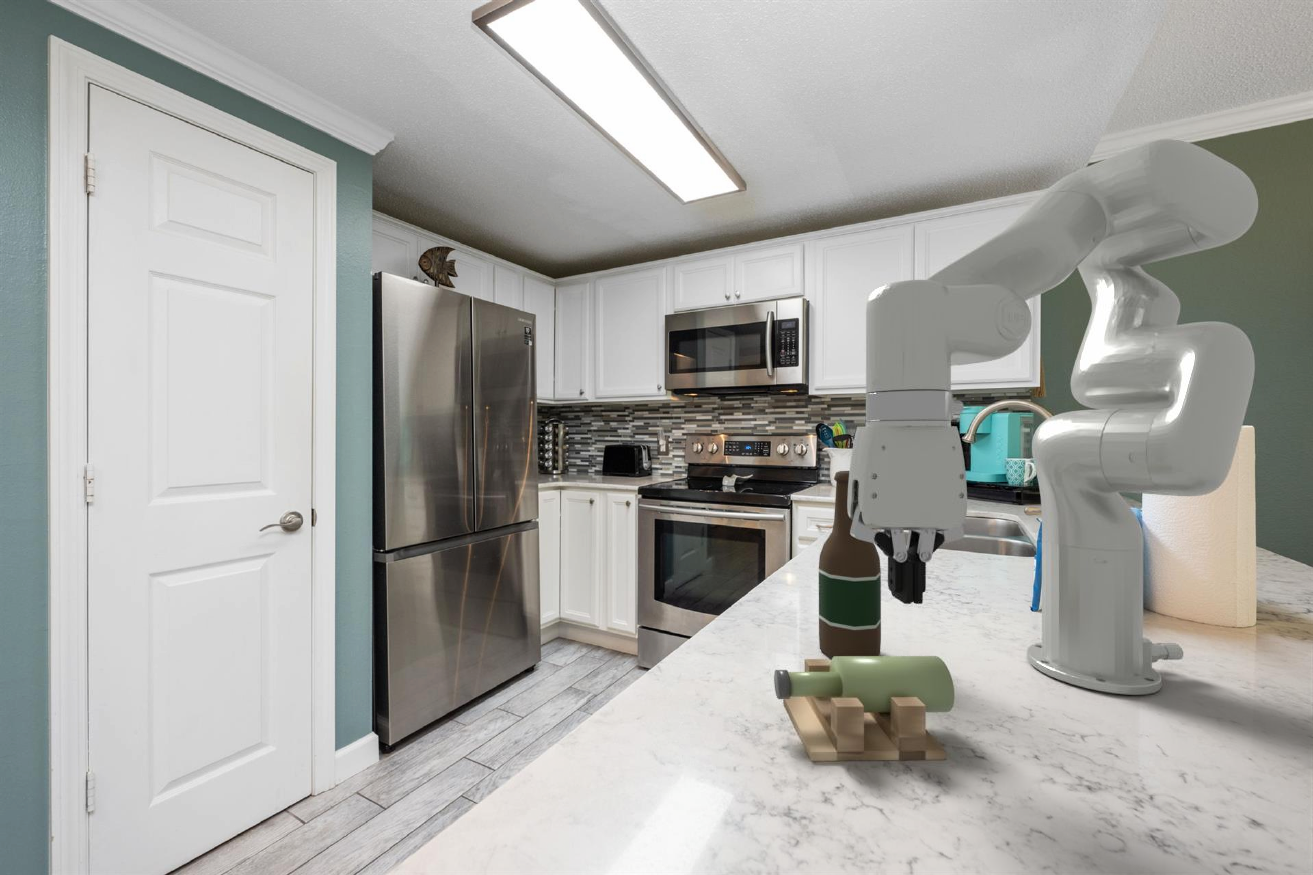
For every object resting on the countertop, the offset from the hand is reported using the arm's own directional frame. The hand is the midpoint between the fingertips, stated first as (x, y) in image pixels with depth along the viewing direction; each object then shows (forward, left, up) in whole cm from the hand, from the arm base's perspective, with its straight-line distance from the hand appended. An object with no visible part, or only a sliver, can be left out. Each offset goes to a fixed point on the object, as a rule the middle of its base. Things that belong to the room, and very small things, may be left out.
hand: (906, 599), depth 52 cm
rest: (+5, 0, -13) cm, 14 cm away
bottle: (-3, 0, -8) cm, 9 cm away
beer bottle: (-1, -18, -13) cm, 22 cm away
